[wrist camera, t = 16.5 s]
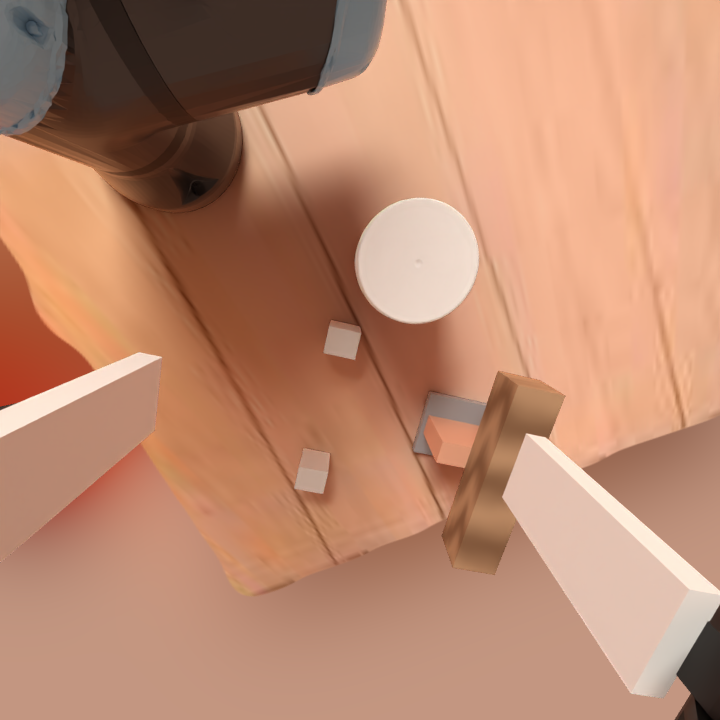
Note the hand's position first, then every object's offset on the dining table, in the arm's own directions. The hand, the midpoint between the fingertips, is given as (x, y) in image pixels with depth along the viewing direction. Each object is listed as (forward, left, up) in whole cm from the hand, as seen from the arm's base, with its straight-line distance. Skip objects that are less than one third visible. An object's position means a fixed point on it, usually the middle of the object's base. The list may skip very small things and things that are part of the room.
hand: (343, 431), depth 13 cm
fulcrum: (+18, -11, -31) cm, 37 cm away
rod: (+18, -11, -23) cm, 31 cm away
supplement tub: (+4, +7, -31) cm, 32 cm away
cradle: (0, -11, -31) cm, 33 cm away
